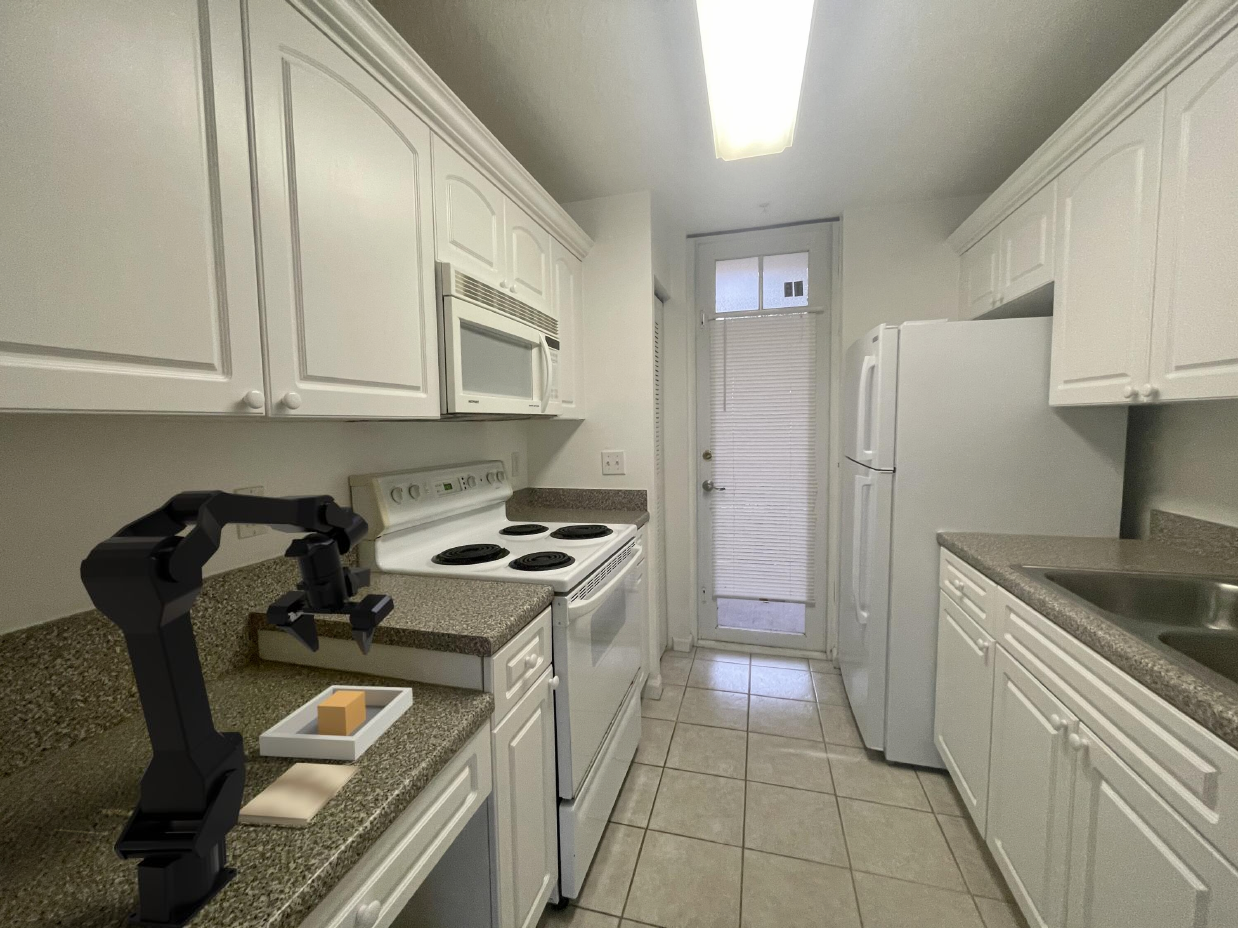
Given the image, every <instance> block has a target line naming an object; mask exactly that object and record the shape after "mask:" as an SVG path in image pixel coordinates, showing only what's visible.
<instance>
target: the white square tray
mask: <svg viewBox="0 0 1238 928" xmlns="http://www.w3.org/2000/svg"><path fill="white" fill-rule="evenodd" d="M337 691H365V708H366V720H365V721H364V722H363V723H362V724H360V725H359V726H358V727H357V728H356V729H355V730H354V731H352V732H351V733H350V734H349V735H348V736H331V735H319V732H318V711H317V706H318V705H319V704H320V703H322V702H323V701H325V700H326V699H327V698H329V697H330V696H332V695H333V694H334V693H336V692H337ZM413 704H414V703H413V688H412V687H399V686H398V687H392V686H389V687H388V686H368V685H367V686H361V685H339V684H338V685H336V684H335V685H334V684H333V685H330V686H328V688H326V689H325V690H324V691H322V692H321V693H319V694H317V695H316V696H314V697H313V698H312V699H310V700H309V701H308V702H307V703H305V704H303V705H302V706H300V707H299V708H297V709H296V710H294V711H293V712H291V713H290V714H289V715H287V716H286V717H285V718H283V719H282V720H280V721H278V723H276V724H275V725H273V726H272V727H270V728H269V729H267V730H266V731H264V732H263V733H261V734H260V735H258V739H259V741H258V742H259V755H260V756H266V757H284V758H303V759H320V760H322V759H324V760H337V761H338V760H340V761H341V760H342V761H357V759H358V758H360V757H361V755H362V754H363V753H365V751H367V750H368V749H369V748H370V747H371V745H373V744H374V743H375V742H376V741H377V740H378V739H379V738H380V737H381V736H382V735H383V734H384V733H385V732H386V731H387V730H388V729H389V728H390V727H391V726H392V725H393V724H394V723H395V722H396V721H397V720H398V719H399V718H400V717H401V716H403V714H404V713H406V711H407V710H409V708H411V706H413Z"/></svg>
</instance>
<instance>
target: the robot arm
mask: <svg viewBox="0 0 1238 928" xmlns="http://www.w3.org/2000/svg"><path fill="white" fill-rule="evenodd" d="M335 501H336V500H335V497H333V496H332V495H330V494H303V495H302V494H300V495H298V494H297V495H284V496H277V497H273V496H264V495H263V496H262V495H251V494H244V493H243V494H241V493H240V494H239V493H231V492H230V493H229V492H226V491H224V490H220V489H212V490H211V489H210V490H209V489H208V490H207V489H205V490H203V489H202V490H200V489H199V490H185V491H184V490H183V491H182V492H179V493H176V494H175V495H173V496H171V497H170V498H169V499H168V500H167V501H166V502H165V503H164V504H162V505H161V506H160V507H159V508H156V509H155V510H153V511H150V512H149V513H146V514H145V515H143V516H141V517H139V518H137V519H135V520H133V521H131V522H129V523H127V524H126V525H124V526H122V527H121V528H119V530H118V531H116V532H115V533H114V534H112V535H111V536H110V537H109V538H106V539H105V540H103V541H100V542H98V544H97V545H96V546H94V547H93V548H92V549H91V550H90V551H89V553H88V555H87V556H86V558H83V559H82V560H81V563H80V567H79V575H80V580H81V583H82V585H83V586H84V589H85V590H86V593H87V595H88V596H89V598H90V600H91V602H92V604H93V606H94V608H95V609H96V610H97V611H99V612H100V613H101V614H102V615H104V616H105V617H106V618H107V619H109V620H110V621H111V622H112V623H114V624H115V626H117V627H118V628H120V629H121V631H122V633H123V635H124V639H125V643H126V648H127V653H128V656H129V659H130V664H131V668H132V672H133V675H134V680H135V684H136V689H137V693H138V697H139V700H140V705H141V708H142V709H141V710H142V712H143V717H144V720H145V725H146V728H147V733H148V735H149V736H148V737H149V740H150V745H151V749H152V756H151V759H150V760H149V762H148V764H147V766H146V767H145V769H144V771H143V773H142V774H141V775H142V776H141V778H140V781H139V785H140V790H139V791H140V799H139V800H138V803H137V804H136V806H135V808H134V810H133V812H132V813H131V815H130V817H129V818H128V820H127V822H126V824H125V825H124V827H123V830H122V831H121V833H120V835H119V837H118V838H117V840H116V842H115V844H114V846H113V851H114V852H115V853H116V855H117V857H118V858H119V860H120V861H127V860H130V859H131V860H132V859H133V860H135V859H142V860H140V861H139V862H138V863H137V864H136V874H137V875H136V876H137V889H138V893H137V894H138V907H137V908H136V909H134V910H133V911H132V912H131V913H130V914H129V915H128V916H127V917H126V919H125V920H126V924H127V925H131V926H132V925H134V926H142V927H150V928H151V927H153V928H184V927H185V926H186V924H188V923H190V921H191V920H192V919H193V918H194V917H195V916H196V915H197V914H198V913H199V912H200V911H202V909H203V908H204V907H205V906H206V905H208V904H209V902H210V901H212V900H213V898H215V897H216V896H217V895H218V894H219V893H220V892H221V890H223V889H224V888H225V887H226V886H227V885H228V884H229V883H230V882H232V880H233V879H234V878H236V876H237V874H238V868H236V867H229V866H226V865H227V862H228V857H227V842H226V841H227V840H226V839H227V838H226V835H228V834H229V833H230V832H231V831H232V830H233V829H234V828H235V827H236V826H237V825H238V824H239V823H238V818H239V813H240V810H241V809H242V808H241V807H242V802H243V796H244V791H245V788H246V787H245V786H246V780H247V777H246V776H247V773H246V771H247V770H246V766H245V764H246V763H249V758H248V756H246V753H245V748H244V738H243V736H242V734H241V732H240V731H218V730H217V729H216V727H215V725H214V721H213V716H212V711H211V707H210V706H211V705H210V702H209V698H208V692H207V688H206V683H205V679H204V674H203V670H202V665H201V660H200V655H199V652H198V647H197V642H196V637H195V633H194V627H193V625H192V624H193V623H192V618H191V610H192V608H193V605H194V604H195V602H196V600H197V597H198V595H199V594H200V592H201V590H202V588H203V586H204V585H203V581H204V579H203V567H204V566H205V565H206V564H207V562H208V561H209V560H210V559H211V558H212V557H213V556H214V555H215V554H216V553H217V551H218V550H219V549H220V547H221V540H222V530H223V528H224V527H225V526H226V525H234V526H235V525H240V526H241V525H242V526H243V525H244V526H245V525H246V526H247V525H248V526H249V525H250V526H252V525H253V526H267V527H270V528H271V529H272V530H274V531H277V532H281V533H285V534H302V533H303V534H304V533H309V534H306V535H305V536H303V537H301V538H293V539H292V540H291V544H290V545H289V546H288V547H287V548H286V549H285V552H284V558H288V559H289V558H296V559H295V560H296V563H297V566H298V567H297V568H298V571H299V574H300V579H301V580H300V581H299V582H298V583H296V584H295V587H296V590H289V591H287V592H286V593H285V594H283V595H282V596H281V597H279V598H278V599H276V600H274V601H273V602H272V603H270V605H268V606H267V609H266V611H265V616H266V620H267V622H268V625H269V624H270V625H275V626H276V628H277V629H282V630H283V631H284V632H286V633H287V634H289V635H291V636H292V637H293V638H294V639H296V640H297V641H298V642H299V643H301V644H302V645H303V646H304V647H306V648H307V649H308V650H309V651H310V652H312V653H317V651H319V649H320V641H319V636H318V631H317V627H316V626H317V625H316V622H315V615H318V616H319V615H320V616H330V615H344V616H345V615H347V616H348V615H349V616H348V619H349V625H352V627H351V628H350V632H351V635H352V636H353V638H354V640H355V643H356V644H357V646H358V649H359V651H360V652H361V653H362V654H363V655H364V656H367V655H368V654H369V653H370V651H371V647H372V641H373V638H374V633H375V629H376V628H377V627H378V626H379V625H380V624H381V623H382V622H383V621H384V620H385V619H386V618H387V616H388V615H389V614H390V613H391V612H392V611H393V610H394V609H395V603H394V599H393V597H392V596H391V595H389V594H383V593H382V594H379V593H378V594H377V593H368V594H366V596H365V597H363V598H362V600H360V601H355V600H354V601H351V598H354V597H356V596H357V595H358V594H359V589H363V588H369V587H371V571H372V570H371V568H370V567H355V566H354V567H349V566H343V563H342V558H341V556H344V555H345V554H348V553H349V552H350V551H351V550H352V549H353V548H354V547H355V546H356V545H358V544H359V543H360V542H361V541H362V540H363V539H364V538H365V537H366V536H367V535H368V533H369V523H368V522H367V521H366V519H365V518H364V517H363V516H361V515H360V514H358V513H356V512H354V507H353V506H340V505H339V504H338V503H337V502H335ZM189 526H191V527H193V526H194V527H193V528H192V529H191V530H190V531H189V532H188V533H187V534H186V535H185V536H183V535H178V534H179V533H181V532H183V531H184V530H185V529H186V528H187V527H189Z"/></svg>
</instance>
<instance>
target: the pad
mask: <svg viewBox="0 0 1238 928" xmlns="http://www.w3.org/2000/svg"><path fill="white" fill-rule="evenodd" d="M359 771H360V766H359V765H343V764H342V765H341V764H325V763H321V764H320V763H307V762H306V763H304V762H296V763H295V764H293V766H291V767H290V768H289V769H288V770H287V771H285V772H284V773H283V774H281V776H279V777H278V778H277V779H276V780H274V781H273V782H271V784H270V785H268V786H267V787H266V788H264V789H263V791H261V792H260V793H259V794H258V795H256V796H255V797H254V798H253V799H252V800H251V801H250V802H248V803H247V804H246V805H245V806H243V808H240V813H239V818H238V822H240V823H241V822H242V823H255V824H267V825H268V824H269V825H282V826H283V825H284V826H293V827H294V826H295V827H296V826H297V827H298V826H299V827H308V826H309V825H310V824H311V822H310V821H311V820H312V819H313V818H314V816H316V814H317V813H319V812H320V811H321V810H322V808H323V807H324V806H325V805H326V804H327V803H329V801H331V799H332V798H334V797H335V795H336V794H337V793H338V792H339V791H340V790H341V789H342V788H343V787H344V786H345V785H346V784H347V783H348V782H349V781H350V779H352V778H353V776H355V774H357V773H358V772H359Z"/></svg>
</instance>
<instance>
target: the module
mask: <svg viewBox="0 0 1238 928" xmlns="http://www.w3.org/2000/svg"><path fill="white" fill-rule="evenodd" d="M317 711H318V732H319V735H331V736H348V735H349V734H350V733H351V732H352V731H354V730H355V729H356V728H357V727H358V726H359V725H360V724H362V723H363V722H364V721H365V720H366V708H365V691H337V692H336V693H334V694H333V695H332V696H330V697H329V698H327V699H326V700H325V701H323V702H322V703H320V704H319V705H318V706H317Z"/></svg>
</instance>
